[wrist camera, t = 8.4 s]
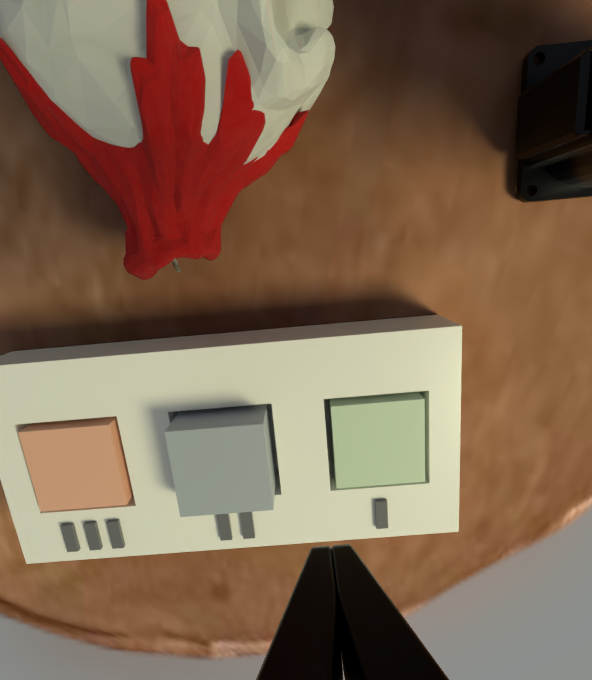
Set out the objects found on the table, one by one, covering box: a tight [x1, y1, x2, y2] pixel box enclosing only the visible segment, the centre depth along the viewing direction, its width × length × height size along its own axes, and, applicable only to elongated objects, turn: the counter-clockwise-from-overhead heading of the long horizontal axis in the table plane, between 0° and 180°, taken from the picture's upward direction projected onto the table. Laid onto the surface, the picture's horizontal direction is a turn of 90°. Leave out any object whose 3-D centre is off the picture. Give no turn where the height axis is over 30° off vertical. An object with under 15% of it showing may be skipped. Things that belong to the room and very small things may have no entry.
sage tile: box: [328, 391, 425, 488], centre depth 19 cm, size 4×4×2 cm
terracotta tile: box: [18, 416, 133, 512], centre depth 20 cm, size 4×4×2 cm
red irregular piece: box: [0, 0, 335, 280], centre depth 14 cm, size 9×11×15 cm
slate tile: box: [164, 404, 276, 517], centre depth 18 cm, size 4×4×2 cm
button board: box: [0, 315, 462, 564], centre depth 20 cm, size 23×11×3 cm, turn 95°
